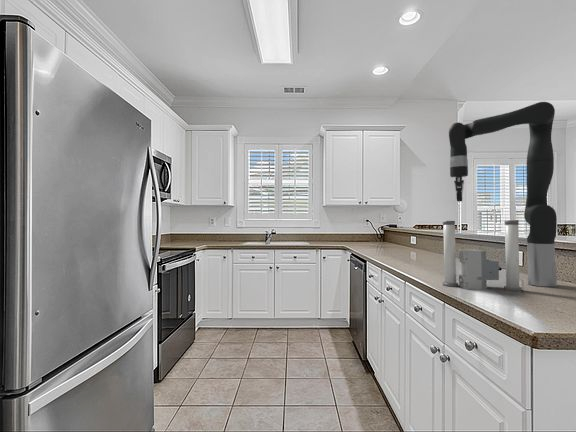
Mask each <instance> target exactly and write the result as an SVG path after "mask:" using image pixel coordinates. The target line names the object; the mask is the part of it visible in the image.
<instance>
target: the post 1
mask: <svg viewBox="0 0 576 432" xmlns="http://www.w3.org/2000/svg"><path fill="white" fill-rule="evenodd" d="M455 225H456V221H455V220H443V221H442V227H443V228H442V229H443V263H444V264H443V265H444V266H443V268H444V269H443V270H444V275H443V276H444V281H443V282H442V286H444V287H449V288H451V287H452V288H453V287H455V288H456V287H460V286H459V282H457V264H456V263H457V262H456V261H457V260H456V226H455Z"/></svg>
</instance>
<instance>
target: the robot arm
mask: <svg viewBox="0 0 576 432" xmlns="http://www.w3.org/2000/svg"><path fill="white" fill-rule="evenodd" d="M555 112H556V110H555V106H554V105H553V104H552V103H550V102H548V101H539V102H536V103H533V104H531V105H530V104H529V105H528V106H525V107H521V108H520V109H516V110H513V111H510V112H505V113H502V114H497V115H493V116H488V117H483V118H479V119H475V120H473V121H472V122H469V123H466V124H463V123H462V122H454V123H452V124H451V125H450V127H449V128H448V139H449V146H450V149H449V150H450V158H449V175H450V176H449V177H450V178H455V180H454V183H453V185H454V190H455V192H456V201H457V202H463V193H464V185H465V181H464V179H463V178H465V177H468V176H469V159H468V147H467V144H466V139H470V138H473V137H476V136H482V135H486V134H491V133H495V132H499V131H502V130H505V129H507V128H510V127H515V126H520V125H527V124H528V128H529V144H528V149H527V155H526V201H525V207H524V220H525V222H526V223H527V224H528V225H529V233H528V235H527V237H526V245H527V246H526V249H527V250H526V254H527V257H526V258H527V284H528V285H531V286H535V287H536V286H537V287H558V282H557V281H558V280H557V277H558V276H557V262H556V253H555V250H556V249H555V248H556V247H555V241H556V240H555V239H556V238H557V228H558V227H557V226H558V225H557V222H558V221H557V217H558V216H557V212H556V210H555V209H554V208H553V207H552V206H551V205H549V204H548V191H549V187H550V184H551V182H552V180H553V175H554V168H555V167H554V165H555V163H554V160H555V156H554V148H553V143H552V133H553V132H552V131H553V124H554V119H555Z"/></svg>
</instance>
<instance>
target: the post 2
mask: <svg viewBox="0 0 576 432" xmlns="http://www.w3.org/2000/svg"><path fill="white" fill-rule="evenodd" d="M504 239H505V241H504V242H505V243H504V244H505V245H504V246H505V248H504V249H505V252H504V253H505V254H504V255H505V285H504V286H503V290H505V291H509V292H522V291H523V287H522V286H520V247H519V246H520V243H519V242H520V240H519V219H518V220H517V219H516V220H515V219H512V220H511V219H510V220H509V219H507V220H504Z"/></svg>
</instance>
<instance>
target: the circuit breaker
mask: <svg viewBox="0 0 576 432" xmlns="http://www.w3.org/2000/svg"><path fill="white" fill-rule="evenodd" d="M457 254H458V255H457V257H458V261H459V263H460V273H458V285H459V286H458V287H461V288H462V289H463V290H466V289H467V290H487V287H488V286H487V285H488V284H487V281H500V273H499V271H503V270H502V269H503V268H502V267H500V265H499V260H497V259H492V258H487V251H486V250H482V249H458V253H457Z"/></svg>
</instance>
